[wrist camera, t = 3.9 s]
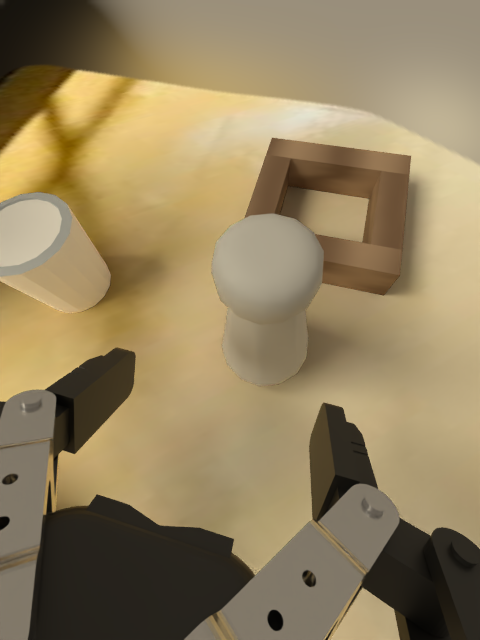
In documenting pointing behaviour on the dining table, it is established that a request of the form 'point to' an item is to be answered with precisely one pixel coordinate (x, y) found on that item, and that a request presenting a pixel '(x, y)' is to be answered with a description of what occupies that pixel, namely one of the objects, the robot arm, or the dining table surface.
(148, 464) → the dining table surface
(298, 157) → the socket
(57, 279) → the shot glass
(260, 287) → the salt shaker
